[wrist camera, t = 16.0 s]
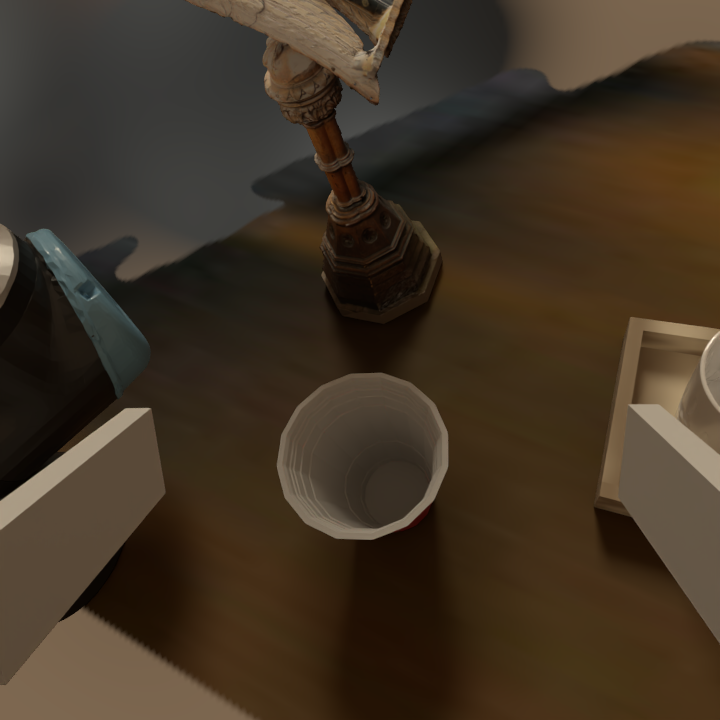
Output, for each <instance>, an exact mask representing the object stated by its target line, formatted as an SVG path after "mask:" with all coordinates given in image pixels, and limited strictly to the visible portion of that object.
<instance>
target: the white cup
mask: <svg viewBox="0 0 720 720" xmlns="http://www.w3.org/2000/svg"><path fill="white" fill-rule="evenodd" d="M675 418H676V419H677V420H678V421H679V422H681V423H682V424H683V425H684V426H686V427H687V428H688V429H689V430H690V431H692V432H693V433H694V434H695V435H696V436H698V437H699V438H700V439H701V440H702V441H704V442H705V443H706V444H707V445H708V446H710V447H711V448H712V449H713V450H714V451H716V452H717V453H718V454H719V455H720V331H719V332H718V333H716V334H715V335H714V336H713V337H712V339H711V340H710V341H709V342H708V344H707V345H706V347H705V349H704V351H703V353H702V355H701V358H700V360H699V362H698V364H697V366H696V368H695V370H694V372H693V374H692V376H691V378H690V380H689V382H688V384H687V386H686V388H685V391H684V393H683V396H682V398H681V400H680V403H679V406H678V409H677V411H676V414H675Z"/></svg>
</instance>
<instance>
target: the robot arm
mask: <svg viewBox="0 0 720 720" xmlns="http://www.w3.org/2000/svg"><path fill="white" fill-rule="evenodd" d="M149 360H150V347H149V344H148V342H147V340H146V339H145V337H144V336H143V335H142V333H141V332H140V331H139V330H138V328H137V327H136V326H135V325H134V323H133V322H132V321H131V320H130V319H129V317H128V316H127V315H126V314H125V313H124V311H123V310H122V309H121V308H120V307H119V305H118V304H117V303H116V302H115V301H114V300H113V298H112V297H111V296H110V295H109V294H108V293H107V291H106V290H105V289H104V288H103V287H102V286H101V285H100V283H99V282H98V281H97V280H96V279H95V278H94V277H93V275H92V274H91V273H90V272H89V271H88V270H87V269H86V267H85V266H84V265H83V264H82V263H81V262H80V261H79V260H78V258H77V257H76V256H75V255H74V254H73V253H72V252H71V251H70V250H69V249H68V248H67V246H66V245H64V243H63V242H62V241H61V240H60V239H59V238H57V237H56V236H55V235H54V234H53V232H51V231H50V230H48V229H40V230H38V231H37V232H32V233H30V234H29V233H28V234H27V235H26V238H25V240H24V241H23V240H21V239H20V238H19V237H17V236H16V235H15V234H14V233H13V232H11V231H10V230H9V229H8V228H6V227H5V226H3V225H1V224H0V685H6V684H7V683H8V682H9V681H10V679H11V678H12V677H13V676H14V675H15V673H16V672H17V671H18V670H19V668H20V667H21V666H22V665H23V664H24V663H25V661H26V660H27V659H28V658H29V657H30V655H31V654H32V653H33V652H34V651H35V649H36V648H37V647H38V646H39V645H40V643H41V642H42V641H43V640H44V639H45V637H46V636H47V635H48V634H49V632H50V631H51V630H52V629H53V628H54V626H55V625H56V624H57V623H58V622H60V621H62V620H64V619H66V618H67V617H69V616H71V615H72V614H74V613H75V612H77V611H78V610H79V609H81V608H82V607H83V606H84V605H85V604H86V603H87V602H89V601H90V600H91V599H92V597H93V596H94V595H95V594H96V593H97V592H98V591H99V589H100V588H101V587H102V585H103V584H104V583H105V581H106V580H107V578H108V577H109V575H110V573H111V572H112V570H113V568H114V566H115V564H116V562H117V560H118V557H119V555H120V552H121V550H122V547H123V544H124V542H125V541H126V540H127V539H128V538H129V536H130V535H131V534H132V533H133V532H134V530H135V529H136V528H137V527H138V526H139V524H140V523H141V522H142V521H143V519H144V518H145V517H146V516H147V515H148V513H149V512H150V511H151V510H152V509H153V507H154V506H155V505H156V504H157V503H158V501H159V500H160V499H161V498H162V497H163V495H164V494H165V493H166V492H165V486H164V480H163V474H162V469H161V463H160V457H159V451H158V445H157V439H156V433H155V428H154V422H153V416H152V410H151V408H126V409H124V410H123V411H122V412H120V413H119V414H118V415H116V416H115V417H114V418H112V419H111V420H109V421H108V422H107V423H105V424H104V425H103V426H101V427H100V428H99V429H97V430H96V431H95V432H93V433H92V434H90V435H89V436H88V437H86V438H85V439H84V440H82V441H81V442H80V443H78V444H77V445H76V446H74V447H73V448H71V449H70V450H69V451H67V452H57V451H58V450H59V449H61V448H62V447H63V446H64V445H65V444H66V443H67V442H68V441H70V440H71V439H72V438H73V437H74V436H75V435H76V434H78V433H79V432H80V431H81V430H82V429H83V428H84V427H85V426H87V425H88V424H89V423H90V422H91V421H92V420H93V419H94V418H96V417H97V416H98V415H99V414H100V413H101V412H102V411H104V410H105V409H106V408H107V407H108V406H109V405H110V404H111V403H113V402H114V401H115V400H116V399H119V398H120V397H121V396H122V395H123V391H124V390H125V389H126V388H127V387H128V386H129V385H130V384H131V383H132V382H133V381H134V380H135V379H136V377H137V376H138V375H139V374H140V373H141V372H142V371H143V370H144V369H145V368H146V367H147V365H148V363H149ZM618 498H619V499H620V501H621V502H622V503H623V505H624V506H625V508H626V509H627V511H628V512H629V513H630V515H631V516H632V518H633V519H634V521H635V522H636V524H637V525H638V526H639V528H640V529H641V531H642V532H643V534H644V535H645V537H646V538H647V539H648V541H649V542H650V544H651V545H652V547H653V548H654V550H655V551H656V552H657V554H658V555H659V557H660V558H661V560H662V561H663V562H664V564H665V565H666V567H667V568H668V570H669V571H670V573H671V574H672V575H673V577H674V578H675V580H676V581H677V583H678V584H679V586H680V587H681V588H682V590H683V591H684V593H685V594H686V596H687V597H688V599H689V600H690V601H691V603H692V604H693V606H694V607H695V609H696V610H697V611H698V613H699V614H700V616H701V617H702V619H703V620H704V622H705V623H706V624H707V626H708V627H709V629H710V630H711V632H712V633H713V635H714V636H715V637H716V639H717V640H718V642H719V643H720V455H719V454H718V453H717V452H716V451H714V450H713V449H712V448H711V447H710V446H708V445H707V444H706V443H705V442H704V441H702V440H701V439H700V438H699V437H698V436H696V435H695V434H694V433H693V432H692V431H690V430H689V429H688V428H687V427H686V426H684V425H683V424H682V423H681V422H679V421H678V420H677V419H676V418H675V417H673V416H672V415H671V414H670V413H669V412H667V411H666V410H665V409H664V408H663V407H661V406H660V405H659V404H628V410H627V419H626V428H625V437H624V446H623V456H622V465H621V474H620V483H619V493H618Z"/></svg>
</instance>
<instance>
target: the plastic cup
mask: <svg viewBox="0 0 720 720" xmlns="http://www.w3.org/2000/svg"><path fill="white" fill-rule="evenodd" d="M447 468H448V432H447V430H446V428H445V425H444V423H443V421H442V419H441V417H440V414H439V412H438V410H437V408H436V406H435V404H434V403H433V402H432V401H431V400H430V399H429V398H428V397H427V396H426V395H424V394H423V393H422V392H421V391H420V390H419V389H418V388H417V387H415V386H414V385H413V384H412V383H410V382H407V381H405V380H402V379H399V378H396V377H393V376H390V375H387V374H384V373H360V374H349V375H347V376H344V377H342V378H339V379H337V380H334V381H332V382H329V383H327V384H324V385H322V386H320V387H319V388H318V389H317V390H316V391H315V392H313V393H312V394H311V395H310V396H309V397H308V398H307V399H305V400H304V401H303V402H302V403H301V404H300V405H298V406H297V408H296V410H295V412H294V413H293V415H292V417H291V419H290V420H289V422H288V424H287V426H286V427H285V429H284V431H283V433H282V435H281V442H280V448H279V455H278V461H277V469H278V473H279V477H280V481H281V485H282V489H283V493H284V497H285V498H286V500H287V501H288V502H289V503H290V505H291V506H292V507H293V509H294V510H295V511H296V512H297V514H298V515H299V516H300V517H301V519H302V520H303V521H304V522H305V523H306V524H308V525H310V526H312V527H314V528H316V529H318V530H320V531H322V532H324V533H326V534H328V535H330V536H332V537H334V538H336V539H361V540H373V539H376V538H378V537H381V536H383V535H386V534H389V533H391V532H398V531H404V530H407V529H409V528H412V527H414V526H416V525H417V524H418V523H419V522H420V521H421V520H422V519H423V518H424V517H425V516H426V515H427V514H428V512H429V509H430V507H431V504H432V502H433V501H434V499H435V497H436V494H437V492H438V490H439V487H440V485H441V483H442V480H443V478H444V475H445V473H446V471H447Z"/></svg>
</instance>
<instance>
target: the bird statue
mask: <svg viewBox="0 0 720 720" xmlns="http://www.w3.org/2000/svg"><path fill="white" fill-rule="evenodd" d="M185 1H188V2H189V3H192V4H194V5H196V6H198V7H201V8H205V9H207V10H209V11H211V12H214V13H217V14H218V15H220V16H222V17H231V18H232V20H233V21H235V22H238V23H239V24H240V25H245V26H248V27H250V28H253V29H255V30H257V31H259V32H261V33H264V34H265V35H267V36H269V38H268V39H267V41H266V45H267V49H266V51H265V53H264V55H263V65H264V66H265V67H267V68H268V70H267V72H266V75H265V79H264V83H265V91H266V93H267V95H268V96H269V97H271V99H274V100H276V101H277V102H278V103H279V105H280V109H281V112H282V114H283V116H284V117H285V118H286V119H287V120H289V121H290V122H291V123H294V124H295V123H299V124H300V125H301V124H302V125H303V126H304V127H305V128H306V129H307V131H308V134H309V136H310V138H311V140H312V143H313V145H314V147H315V149H316V152H317V153H316V154H315V156H314V157H315V159H314V160H315V162H316V164H318V165H319V168H320V170H322V171H325V174H326V176H327V178H328V180H329V182H330V185H331V187H332V189H333V190H332V191H331V194H330V196H329V198H328V200H327V202H326V211H327V213H328V223H327V229H326V231H325V233H324V236H323V238H322V240H323V241H322V244H321V246H320V249H321V250H322V253H323V255H324V257H325V258H324V260H323V262H324V265H323V268H322V269H323V273H322V275H321V276H322V278H323V280H324V282H325V284H326V286H327V288H328V290H329V292H330V294H331V296H332V298H333V300H334V302H335V304H336V306H337V308H338V309H339V311H340V313H341V315H342V316H345V317H350V318H355V319H361V320H366V321H371V322H376V323H381V324H385V323H387V322H389V321H391V320H393V319H395V318H397V317H398V316H400V315H402V314H404V313H406V312H408V311H410V310H412V309H414V308H416V307H418V306H420V305H421V304H423V303H425V302H427V301H428V299H429V296H430V294H431V291H432V288H433V285H434V283H435V280H436V277H437V274H438V272H439V269H440V266H441V263H442V257H441V253H440V250H439V249H438V247H437V246H436V244H435V243H434V242H433V240H432V239H431V237H430V236H429V234H428V233H427V231H426V230H425V229H424V227H423V226H422V224H421V223H420V222H419V221H411V220H410V219H409V217H408V216H407V215H406V213H405V212H404V210H403V209H402V208H401V206H400V205H399V204H394V203H393V201H391V200H385V199H383V198H382V197H381V196H379V195H378V194H377V193H376V192H375V190H374V188H373V187H372V186H371V185H370V184H367V183H365V182H364V181H360V180H358V178H357V177H356V175H355V172H354V170H353V167H352V164H351V163H352V160H353V156H354V151H353V149H351V148H349V145H348V143H346V142H344V141H343V138H342V136H341V131H340V129H339V126H338V125H337V122H336V119H335V115H336V110H335V109H334V108H336V106H337V105H338V104H339V102H340V101H341V97H342V94H341V91H342V90H343V88H342V85H341V83H340V81H339V78H340V79H342V80H343V81H344V82H345V83H346V85H348V86H349V87H350V89H354V90H355V91H357V92H358V93H359V94H360V95H362V96H363V97H364V98H366V99H367V100H368V101H369V102H370V103H372V104H374V105H378V103H379V93H380V88H379V84H378V79H377V78H378V77H377V72H378V70H379V68H380V66H381V62H382V60H383V57H384V55H385V56H386V57H387V58H388V57H389V55H390V52H391V51H392V47H393V44H394V43H395V41H396V39H397V37H398V36H399V33H400V30H401V29H402V27H403V24H404V21H405V18H406V16H407V13H408V10H409V9H410V5H411V4H412V0H185ZM329 4H330V5H331V6H332V7H334V8H336V9H337V10H338V11H340V12H341V13H343V14H344V15H345V16H346V17H348V19H350V20H351V21H352V22H354V23H355V24H356V25H358V28H360V29H361V30H362V31H363V32H365V34H366V35H368V36H369V39H370V40H371V41H372V42H373V44H374V45H375V47H374V49H372V50H369V51H364V49H363V43H362V41H361V40H360V38H359V37H358V36H357V35H356V34H355V32H354V30H353V29H352V28H351V27H350V26H349V24H348V23H347V22H346V21H345V20H344V19H343V18H342V17H341V16H340V15H338V13H337V12H336V11H335V10H334V9H333V8H332V7H331V6H330V5H329ZM354 83H356V85H354ZM370 97H371V98H372V100H370Z"/></svg>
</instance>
